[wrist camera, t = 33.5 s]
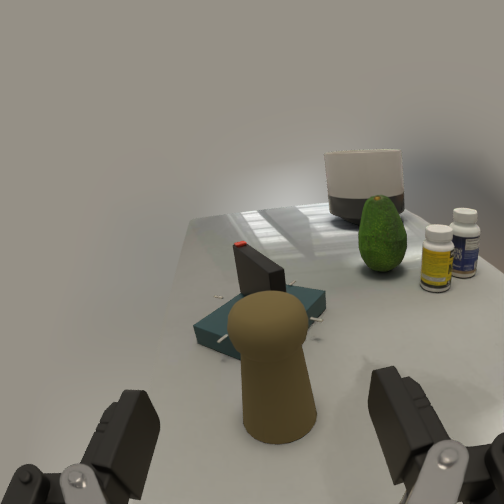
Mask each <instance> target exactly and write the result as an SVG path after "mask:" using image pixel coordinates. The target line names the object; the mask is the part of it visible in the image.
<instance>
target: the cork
mask: <svg viewBox="0 0 504 504" xmlns="http://www.w3.org/2000/svg"><path fill="white" fill-rule="evenodd" d="M308 326H309V325H308V316H307V313H306V310H305V308H304V305H303V304H302V303H301V302H300V300H299V299H298V298H296V297H295V296H294V295H291V294H289V293H286V292H281V291H262V292H257V293H253V294H250V295H248V296H246V297H244V298H242V299H240V300H239V301H238V302H236V303H235V304H234V305H233V307H232V308H231V310H230V313H229V315H228V323H227V331H228V336H229V338H230V340H231V342H232V344H233V345H234V347H235V349H236V350H237V351H238V352H239V353H241V378H242V402H243V424H244V426H245V428H246V430H247V432H248V433H249V434H250V435H251V436H252V437H253V438H255V439H257V440H259V441H262V442H264V443H270V444H284V443H290V442H293V441H295V440H297V439H300V438H302V437H303V436H304V435H306V434H307V433H308V432H309V431H310V430H311V429H312V427H313V426H314V424H315V422H316V417H317V412H316V407H315V403H314V398H313V393H312V389H311V384H310V380H309V375H308V371H307V367H306V362H305V358H304V353H303V349H302V344H303V343H304V341H305V339H306V335H307V331H308Z"/></svg>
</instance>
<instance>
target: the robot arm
mask: <svg viewBox="0 0 504 504" xmlns="http://www.w3.org/2000/svg"><path fill="white" fill-rule="evenodd" d="M368 409H369V414H370V417H371V420H372V422H373V425H374V428H375V431H376V434H377V436H378V439H379V442H380V445H381V448H382V451H383V454H384V457H385V460H386V463H387V465H388V468H389V472H390V475H391V478H392V481H393V484H394V485H397V484H400V483H403V482H404V484H405V487H406V491H405V493H404V495H403V497H402V499H401V501H400V503H399V504H456V502H463V504H504V433H501V434H500V435H498V436H497V437H496V438H495V439H494V441H493V442H492V444H486V445H480V446H473V447H465V446H464V445H463V444H462V443H460V442H458V441H455V440H451V439H450V437H449V436H448V434H447V432H446V430H445V429H444V427H443V425H442V423H441V421H440V419H439V418H438V416H437V414H436V412H435V410H434V409H433V407H432V406H431V403H430V401H429V400H428V398H427V397H426V394H425V393H424V391H423V389H422V388H421V386H420V384H419V383H417V382H416V381H414V380H413V379H412V378H410V377H409V376H408V377H405V378H401V376H400V375H399V373H398V371H397V369H396V368H395V367H394V366H390V367H386V368H381V369H377V370H373V372H372V376H371V383H370V390H369V396H368ZM159 432H160V420H159V417H158V415H157V413H156V411H155V409H154V407H153V405H152V403H151V401H150V398H149V396H148V394H147V393H146V392H145V391H144V390H124V391H123V393H122V395H121V397H120V399H119V401H118V402H113V403H112V404H111V405H110V406H109V407H108V408H107V409H106V410H105V411H104V413H103V415H102V418H101V419H100V423H99V424H98V426H97V428H96V432H94V434H93V436H92V438H91V441H90V443H89V445H88V447H87V449H86V451H85V454H84V456H83V458H82V460H81V462H80V463H79V464H73V465H70V466H69V467H67V468H66V469H65V470H64V471H63V472H62V473H52V474H51V473H47V474H46V473H42V472H41V471H40V469H38V468H37V467H36V466H35V465H32V464H26V465H23V466H21V467H19V468H18V469H17V470H16V472H15V473H14V476H13V477H12V480H11V482H10V484H9V486H8V488H7V491H6V493H5V495H4V498H3V500H2V502H1V504H128V501H129V498H131V499H136V500H141V496H142V492H143V489H144V485H145V481H146V478H147V474H148V471H149V467H150V463H151V460H152V456H153V453H154V449H155V446H156V442H157V439H158V436H159Z"/></svg>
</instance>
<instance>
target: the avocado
mask: <svg viewBox="0 0 504 504" xmlns="http://www.w3.org/2000/svg"><path fill="white" fill-rule="evenodd" d="M358 238H359V250H360V254H361V257H362V259H363V260H364V262H365V263H366V265H367V266H368V267H369V268H370V269H372V270H374V271H389V270H392V269H394V268H395V267H397V266H398V265H399V264H400V263H401V262H402V260H403V258H404V255H405V252H406V249H407V234H406V231H405V228H404V225H403V222H402V220H401V218H400V216H399V213H398V211H397V209H396V207H395V205H394V203H393V202H392V201H391V200H390V199H389V198H388V197H387V196H384V195H375V196H371V197H370V198H369V199H368V200H367V201H366V202H365V204H364V207H363V211H362V217H361V222H360V227H359V233H358Z"/></svg>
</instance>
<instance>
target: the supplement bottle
mask: <svg viewBox="0 0 504 504" xmlns="http://www.w3.org/2000/svg"><path fill="white" fill-rule="evenodd" d="M425 238H426V240H424V242H423V246H422V265H421V277H420V285H421V286H422V287H423V288H424V289H425V290H428V291H431V292H442V291H446V290H447V289H448V288H449V287H450V283H451V275H452V266H453V255H454V244H453V242H452V241H451V240H452V238H453V229H452V228H451V227H449V226H446V225H437V224H436V225H429V226H427V227H426V232H425Z"/></svg>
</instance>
